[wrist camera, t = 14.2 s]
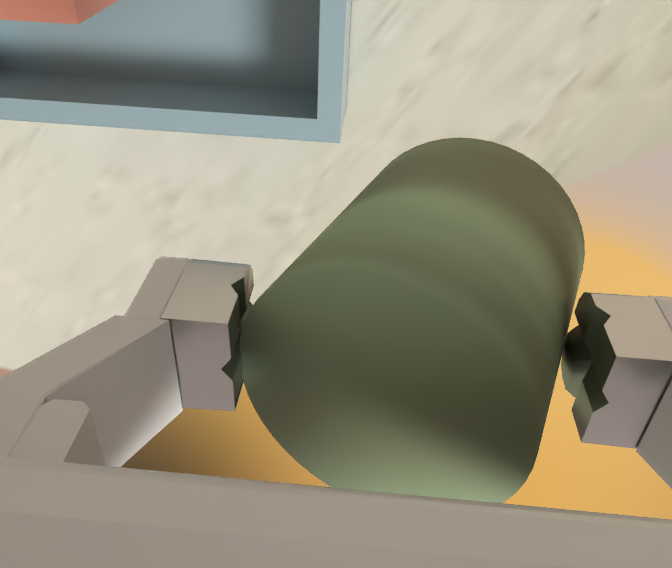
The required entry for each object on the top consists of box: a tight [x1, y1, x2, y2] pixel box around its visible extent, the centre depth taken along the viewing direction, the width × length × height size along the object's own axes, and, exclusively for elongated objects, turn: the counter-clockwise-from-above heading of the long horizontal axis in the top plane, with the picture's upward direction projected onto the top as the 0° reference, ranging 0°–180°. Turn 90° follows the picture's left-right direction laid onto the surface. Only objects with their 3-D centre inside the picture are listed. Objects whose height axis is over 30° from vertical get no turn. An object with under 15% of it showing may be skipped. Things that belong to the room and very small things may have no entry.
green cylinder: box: [239, 138, 585, 503], centre depth 11 cm, size 5×5×5 cm
